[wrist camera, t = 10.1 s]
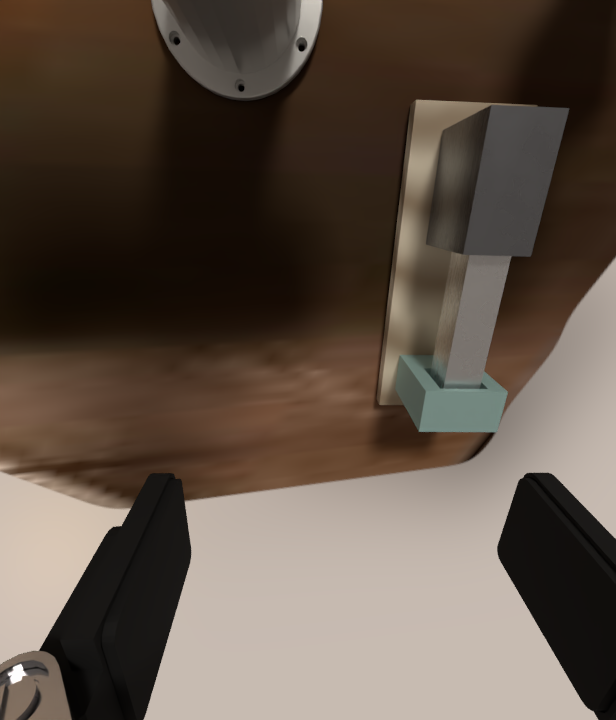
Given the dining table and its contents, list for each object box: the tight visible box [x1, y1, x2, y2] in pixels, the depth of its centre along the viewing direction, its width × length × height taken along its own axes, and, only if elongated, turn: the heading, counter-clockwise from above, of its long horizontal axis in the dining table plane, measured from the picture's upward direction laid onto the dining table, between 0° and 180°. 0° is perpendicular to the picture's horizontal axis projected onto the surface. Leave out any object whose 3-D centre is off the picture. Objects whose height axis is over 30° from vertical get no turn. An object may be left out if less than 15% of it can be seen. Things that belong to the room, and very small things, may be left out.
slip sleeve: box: [426, 105, 569, 257], centre depth 28 cm, size 9×5×8 cm, turn 178°
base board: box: [377, 100, 538, 405], centre depth 35 cm, size 28×10×2 cm, turn 178°
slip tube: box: [430, 252, 511, 389], centre depth 30 cm, size 16×3×3 cm, turn 178°
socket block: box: [395, 355, 508, 432], centre depth 35 cm, size 4×7×8 cm, turn 88°
